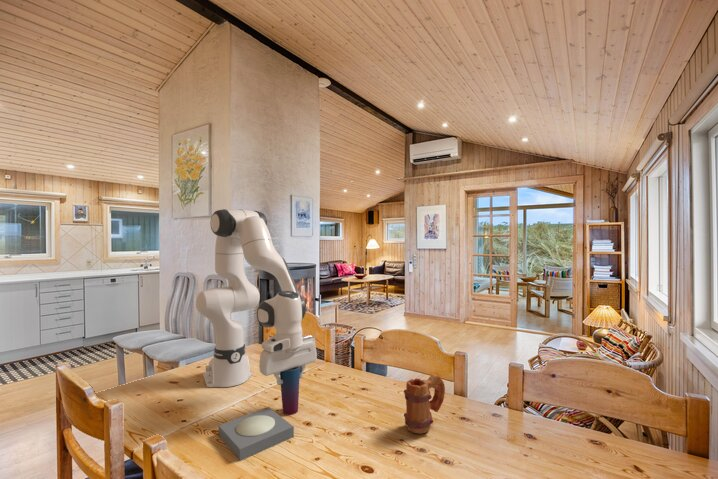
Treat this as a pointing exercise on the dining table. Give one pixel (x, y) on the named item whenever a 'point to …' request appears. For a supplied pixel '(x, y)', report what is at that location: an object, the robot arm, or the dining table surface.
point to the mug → (422, 402)
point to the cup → (290, 390)
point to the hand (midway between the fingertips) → (289, 381)
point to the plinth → (255, 432)
